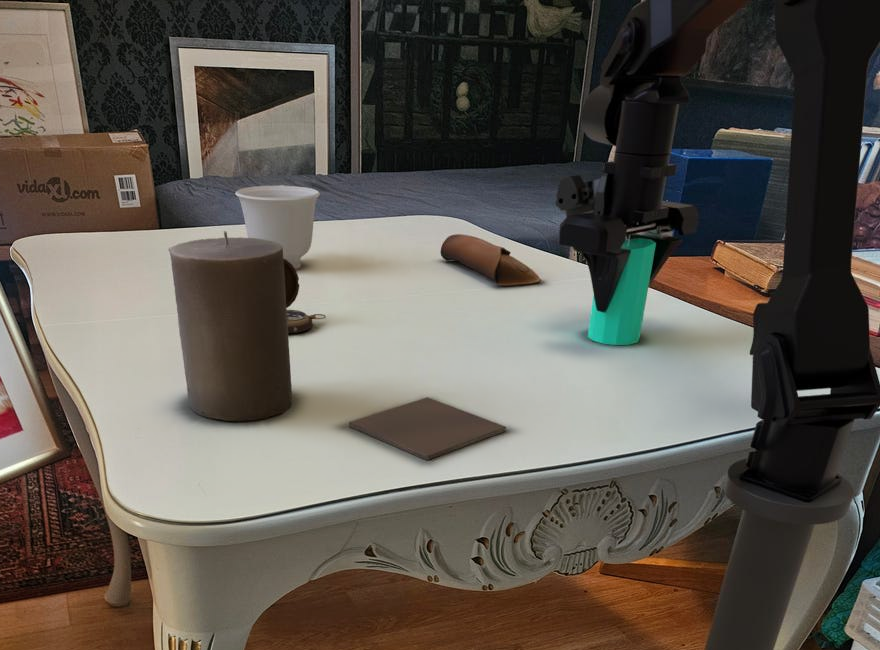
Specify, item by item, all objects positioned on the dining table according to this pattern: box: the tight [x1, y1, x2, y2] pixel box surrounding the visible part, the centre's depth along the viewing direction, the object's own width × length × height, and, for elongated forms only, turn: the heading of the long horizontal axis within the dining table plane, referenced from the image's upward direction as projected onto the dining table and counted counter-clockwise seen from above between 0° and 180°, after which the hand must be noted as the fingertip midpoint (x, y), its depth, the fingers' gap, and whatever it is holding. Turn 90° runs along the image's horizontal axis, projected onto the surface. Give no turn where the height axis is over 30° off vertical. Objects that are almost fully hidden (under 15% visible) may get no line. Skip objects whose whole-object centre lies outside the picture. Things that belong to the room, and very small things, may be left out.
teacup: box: [234, 184, 321, 270], centre depth 127 cm, size 12×15×10 cm
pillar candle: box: [167, 230, 293, 422], centre depth 77 cm, size 10×10×15 cm
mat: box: [348, 397, 507, 461], centre depth 77 cm, size 10×10×1 cm
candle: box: [587, 235, 656, 346], centre depth 98 cm, size 6×6×12 cm
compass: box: [283, 258, 327, 334], centre depth 101 cm, size 8×8×7 cm
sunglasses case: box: [440, 233, 542, 287], centre depth 128 cm, size 18×7×7 cm
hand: (618, 306), depth 100 cm, fingers closed on candle, 6 cm apart
